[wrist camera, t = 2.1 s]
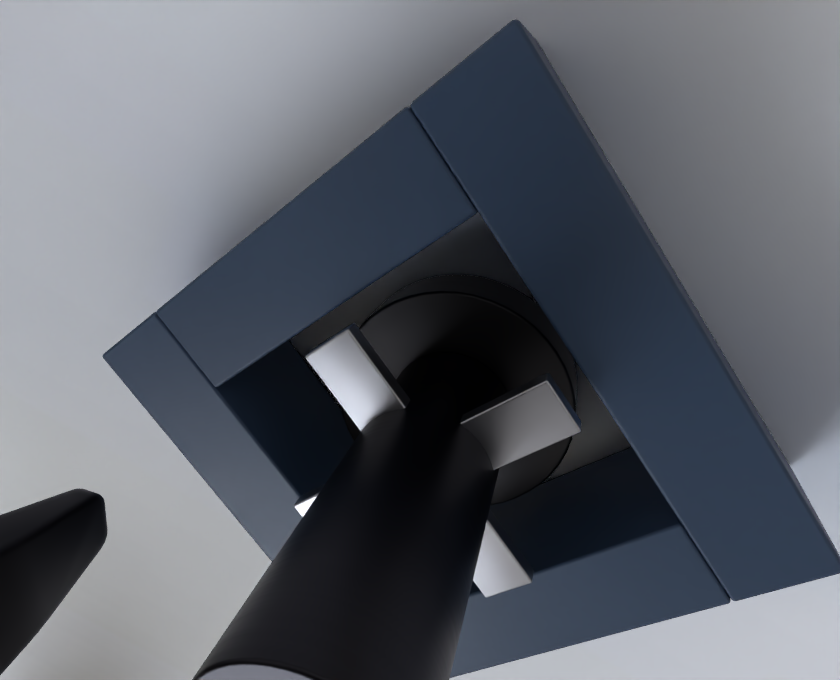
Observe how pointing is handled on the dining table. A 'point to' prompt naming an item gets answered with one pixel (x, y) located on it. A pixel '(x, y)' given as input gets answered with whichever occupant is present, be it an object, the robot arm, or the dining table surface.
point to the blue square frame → (569, 315)
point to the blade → (411, 487)
